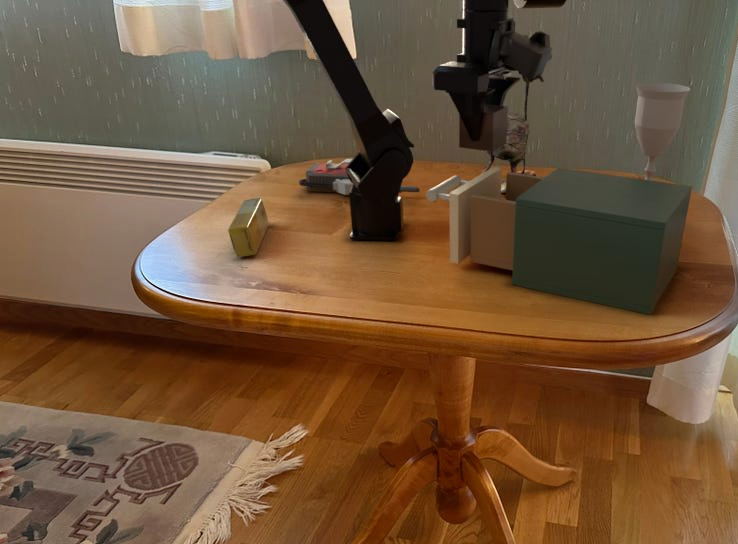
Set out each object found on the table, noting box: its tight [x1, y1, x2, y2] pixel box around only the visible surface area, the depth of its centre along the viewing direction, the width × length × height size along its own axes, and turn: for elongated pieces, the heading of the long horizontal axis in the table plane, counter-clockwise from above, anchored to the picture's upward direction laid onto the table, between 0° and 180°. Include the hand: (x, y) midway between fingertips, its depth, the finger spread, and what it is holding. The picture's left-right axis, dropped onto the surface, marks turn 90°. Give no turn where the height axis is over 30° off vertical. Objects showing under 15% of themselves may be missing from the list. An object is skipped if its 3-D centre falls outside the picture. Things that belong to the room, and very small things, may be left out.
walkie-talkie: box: [298, 158, 420, 196], centre depth 110 cm, size 9×4×20 cm
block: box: [458, 104, 509, 152], centre depth 93 cm, size 5×5×5 cm
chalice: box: [634, 82, 691, 181], centre depth 97 cm, size 7×7×18 cm
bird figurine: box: [482, 74, 544, 194], centre depth 107 cm, size 8×11×20 cm
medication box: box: [227, 197, 270, 258], centre depth 91 cm, size 12×3×4 cm, turn 6°
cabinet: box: [511, 167, 693, 316], centre depth 80 cm, size 17×14×11 cm
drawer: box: [425, 166, 546, 272], centre depth 84 cm, size 20×12×9 cm, turn 63°
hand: (483, 136), depth 93 cm, fingers closed on block, 5 cm apart
